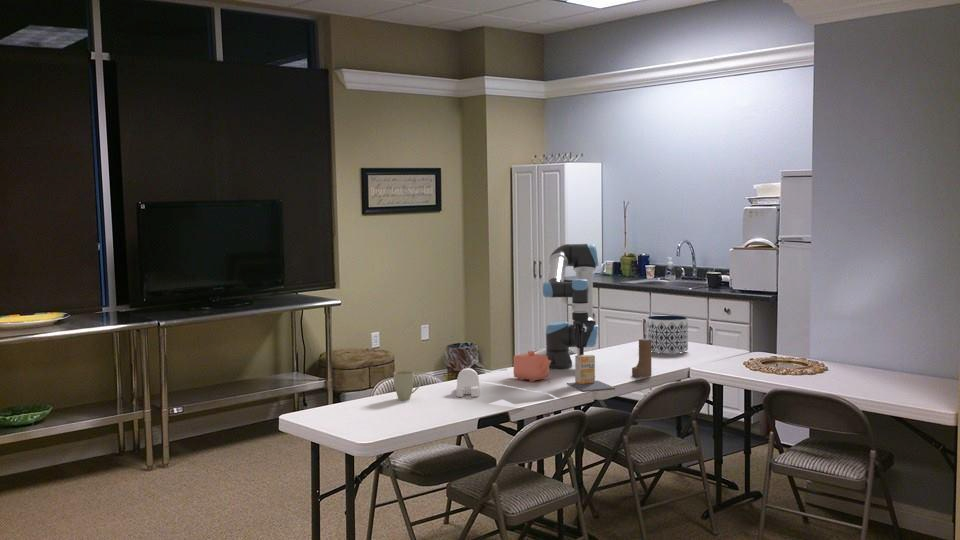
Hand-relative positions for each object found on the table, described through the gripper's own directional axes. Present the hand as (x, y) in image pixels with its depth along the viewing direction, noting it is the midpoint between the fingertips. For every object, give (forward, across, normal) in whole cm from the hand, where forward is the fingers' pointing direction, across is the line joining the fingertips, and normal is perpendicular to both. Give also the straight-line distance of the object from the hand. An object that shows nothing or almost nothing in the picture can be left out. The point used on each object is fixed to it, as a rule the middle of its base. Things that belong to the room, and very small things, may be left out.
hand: (580, 361), depth 410 cm
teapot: (+10, -13, -20) cm, 26 cm away
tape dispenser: (+11, 0, -56) cm, 57 cm away
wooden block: (+10, -2, +34) cm, 35 cm away
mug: (+11, +5, -86) cm, 87 cm away
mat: (+10, +11, 0) cm, 15 cm away
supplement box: (+10, +5, 0) cm, 11 cm away
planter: (+10, -58, +80) cm, 99 cm away
